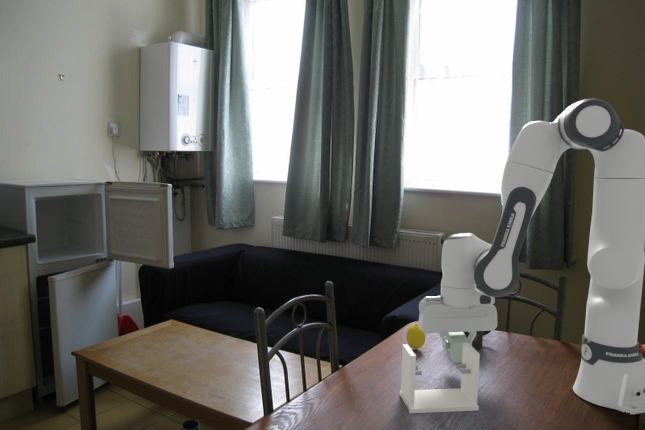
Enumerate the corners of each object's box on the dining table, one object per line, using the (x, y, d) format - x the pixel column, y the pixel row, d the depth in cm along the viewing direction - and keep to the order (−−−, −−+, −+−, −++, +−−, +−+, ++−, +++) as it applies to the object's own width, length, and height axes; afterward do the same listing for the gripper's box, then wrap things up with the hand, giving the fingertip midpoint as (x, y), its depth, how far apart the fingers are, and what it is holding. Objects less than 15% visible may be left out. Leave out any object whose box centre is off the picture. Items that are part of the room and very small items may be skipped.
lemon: (424, 354, 149) (425, 327, 148) (405, 352, 150) (406, 326, 149) (424, 347, 154) (425, 321, 153) (406, 345, 155) (407, 320, 154)
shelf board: (445, 345, 140) (445, 327, 139) (460, 345, 139) (460, 327, 139) (453, 362, 128) (453, 343, 127) (469, 362, 128) (470, 343, 127)
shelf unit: (463, 392, 125) (466, 341, 124) (478, 410, 116) (481, 355, 115) (399, 394, 123) (401, 342, 122) (410, 413, 115) (412, 357, 113)
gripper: (422, 300, 128) (422, 353, 129) (501, 297, 130) (499, 349, 131) (415, 293, 134) (414, 344, 135) (490, 291, 136) (488, 341, 138)
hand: (457, 347), depth 133 cm, fingers closed on shelf board, 4 cm apart
